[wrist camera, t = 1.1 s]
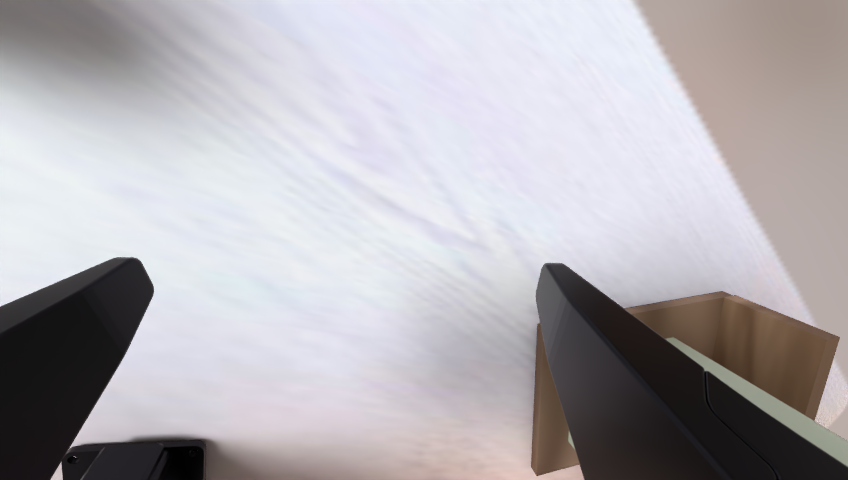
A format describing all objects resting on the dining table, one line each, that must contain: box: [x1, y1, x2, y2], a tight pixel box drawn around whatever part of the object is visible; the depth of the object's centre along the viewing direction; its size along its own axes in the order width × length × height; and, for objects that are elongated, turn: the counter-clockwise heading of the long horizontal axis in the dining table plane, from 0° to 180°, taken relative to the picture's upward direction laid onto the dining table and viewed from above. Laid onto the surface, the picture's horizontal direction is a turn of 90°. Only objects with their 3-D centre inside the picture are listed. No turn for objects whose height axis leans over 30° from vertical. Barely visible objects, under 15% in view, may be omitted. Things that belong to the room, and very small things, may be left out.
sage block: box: [568, 337, 848, 466], centre depth 22 cm, size 8×7×11 cm
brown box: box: [531, 291, 840, 476], centre depth 25 cm, size 15×12×7 cm
